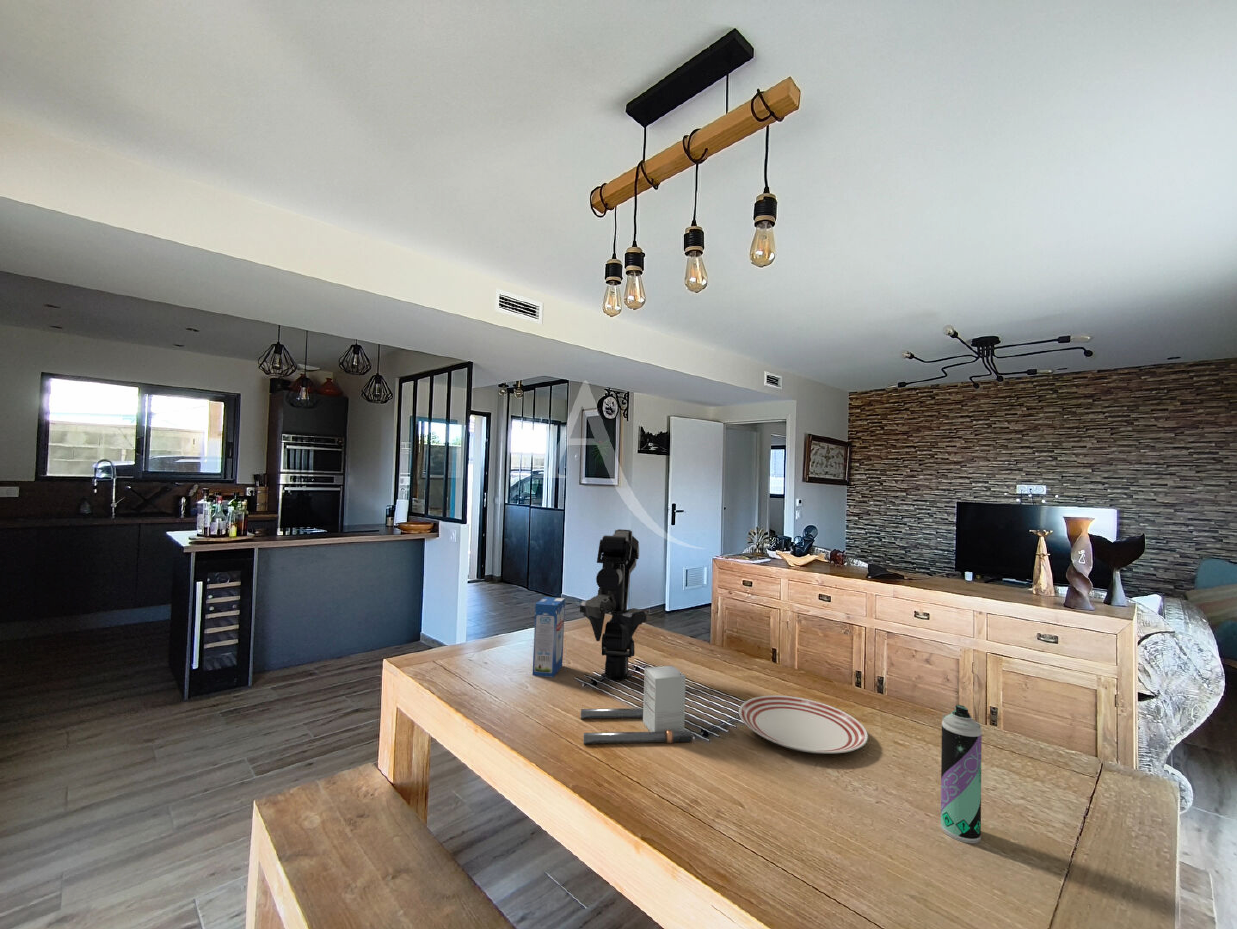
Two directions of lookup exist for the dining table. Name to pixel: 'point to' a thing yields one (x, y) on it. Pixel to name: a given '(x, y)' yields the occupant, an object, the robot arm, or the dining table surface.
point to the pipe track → (629, 737)
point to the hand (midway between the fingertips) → (611, 644)
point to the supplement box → (664, 699)
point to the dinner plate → (803, 724)
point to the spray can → (961, 776)
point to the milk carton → (548, 636)
